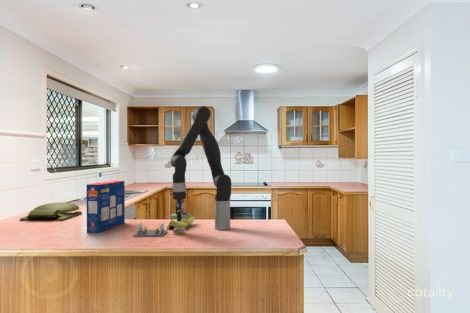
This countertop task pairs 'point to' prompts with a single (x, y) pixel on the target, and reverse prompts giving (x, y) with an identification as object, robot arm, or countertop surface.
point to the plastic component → (181, 223)
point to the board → (183, 216)
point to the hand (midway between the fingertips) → (180, 219)
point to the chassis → (150, 231)
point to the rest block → (178, 231)
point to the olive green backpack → (53, 211)
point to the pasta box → (105, 205)
